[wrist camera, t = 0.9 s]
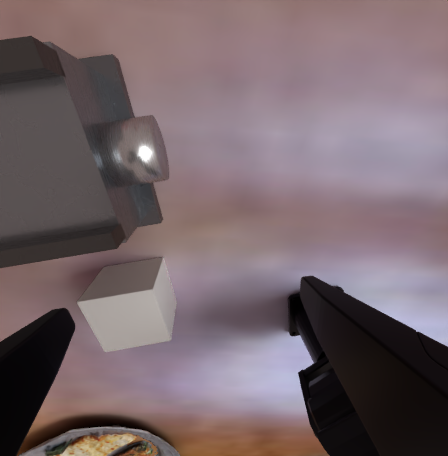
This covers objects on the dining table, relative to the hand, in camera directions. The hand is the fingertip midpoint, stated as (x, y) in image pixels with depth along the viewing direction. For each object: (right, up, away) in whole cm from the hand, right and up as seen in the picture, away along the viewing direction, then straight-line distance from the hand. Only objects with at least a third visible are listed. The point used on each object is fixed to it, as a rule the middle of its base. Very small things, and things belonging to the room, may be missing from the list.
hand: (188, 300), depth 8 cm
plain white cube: (-7, -3, +14) cm, 16 cm away
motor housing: (-11, +8, +9) cm, 16 cm away
